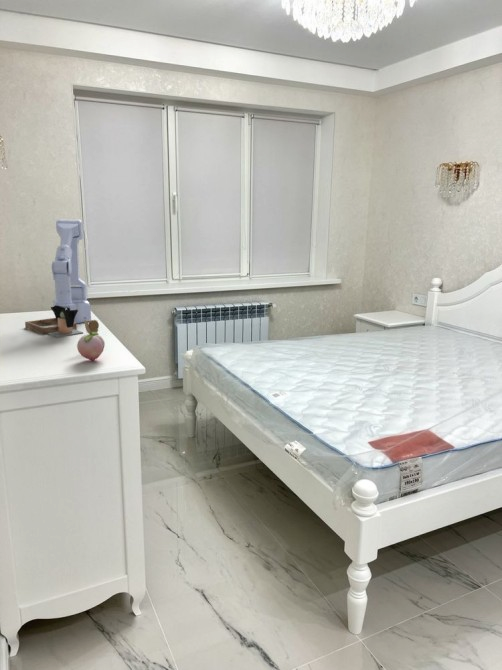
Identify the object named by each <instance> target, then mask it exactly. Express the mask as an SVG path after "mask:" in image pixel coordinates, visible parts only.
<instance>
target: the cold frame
mask: <svg viewBox="0 0 502 670" xmlns="http://www.w3.org/2000/svg"><path fill="white" fill-rule="evenodd" d="M24 325H25V327H24V328H25V329H28V330H29V331H33V332H36V333H38V334H41V335H48V333H53V332H58V323H57V320H56V317H52V318H42V319H35V320H29V321H28V320H27V321H24ZM49 325H50V326H49ZM53 325H54V326H53ZM44 326H45V327H44ZM46 326H47V327H46ZM72 329H75V330H78V329H77V323H74V324H73V327H72Z"/></svg>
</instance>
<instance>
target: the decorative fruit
mask: <svg viewBox="0 0 502 670" xmlns="http://www.w3.org/2000/svg"><path fill="white" fill-rule="evenodd" d="M105 345H106V343H105V340H104V338H103V337H102V336H101V335H100V334H99V333H98V332H97V333H96V332H91V331H90V334H89V333H88V334H87V333H86V334H84V335H82V336H81V337H80V338H79V340H78V341H77V344H76V347H77V351H78V353H79V355H80V356H82V357H83V358H85V359H87V360H89V361H91V362H92V361H95V360H97V359H98V358H99V357H100V356H101V355H102V354H103V352H104V350H105V349H104V348H105Z"/></svg>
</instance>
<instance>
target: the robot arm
mask: <svg viewBox="0 0 502 670" xmlns="http://www.w3.org/2000/svg"><path fill="white" fill-rule="evenodd" d="M55 229H56V233H57V234H58V236H59V237H60V245H59V246H57V248H56V252H55V257H54V261H52V263H51V271H52V276H53V277H52V278H53V280H54V290H55V291H54V292H55V293H54V294H55V299H53V300H52V305H53V306H51V307H50V309H51V311H52V312H53V314H54V318H56V320H57V323H58V318H59V317H61V316H60V313H61V312H63V314H64V316H65V320H66V325H67V327H68V328H69V327H73V324H74V323H76V324H79V323H84V320H87V321H88V322H90V321H91V320H92V308H91V304H90V302H89V301H88V288H87V287H88V286H87V283H86V282H85V281H83V280H82V279H81V278H80V260H79V259H80V258H79V255H80V254H79V244H80V243H79V242H80V241H81V240H83V238H84V225H83V221H82V219H63V218H62V219H61V218H58V219H57V220H56V223H55ZM83 317H86V319H85V318H83Z"/></svg>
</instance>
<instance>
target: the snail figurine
mask: <svg viewBox="0 0 502 670" xmlns="http://www.w3.org/2000/svg"><path fill="white" fill-rule="evenodd" d="M83 318H85V319H86V317H83ZM83 323H84V326H85V327H84V328H85V331H86V333H88V334H90V331H91V332H96V333H98V332H99V326H100V325H99V322H98V320H96V319H91V321H87V320H84V322H83Z"/></svg>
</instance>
